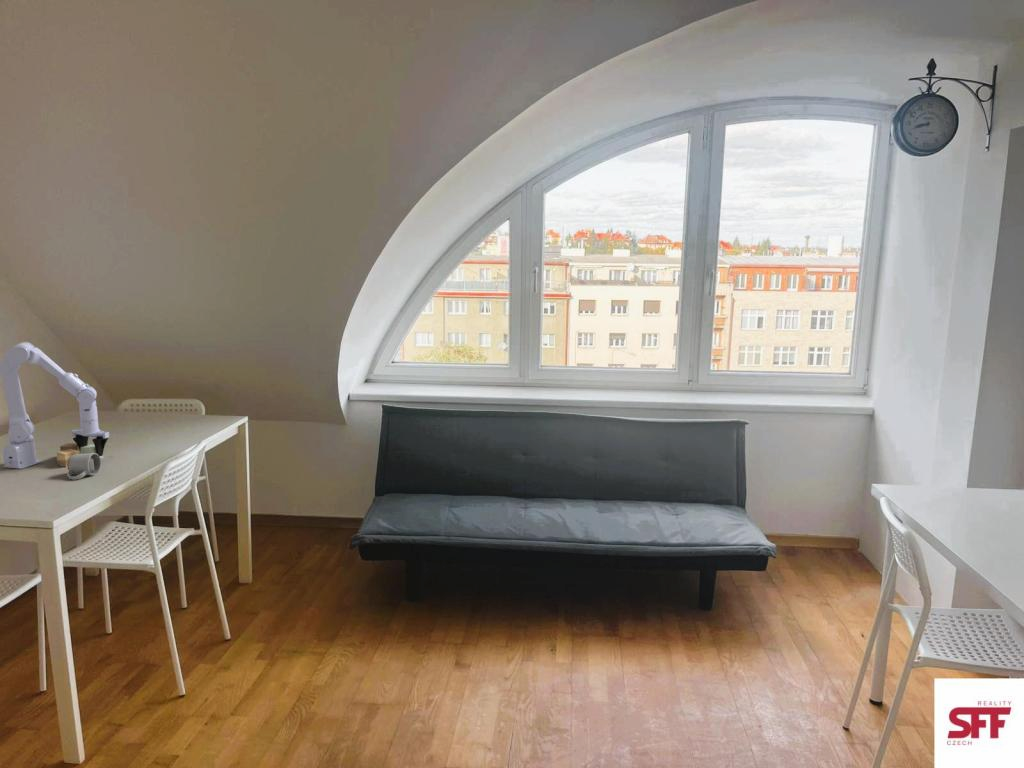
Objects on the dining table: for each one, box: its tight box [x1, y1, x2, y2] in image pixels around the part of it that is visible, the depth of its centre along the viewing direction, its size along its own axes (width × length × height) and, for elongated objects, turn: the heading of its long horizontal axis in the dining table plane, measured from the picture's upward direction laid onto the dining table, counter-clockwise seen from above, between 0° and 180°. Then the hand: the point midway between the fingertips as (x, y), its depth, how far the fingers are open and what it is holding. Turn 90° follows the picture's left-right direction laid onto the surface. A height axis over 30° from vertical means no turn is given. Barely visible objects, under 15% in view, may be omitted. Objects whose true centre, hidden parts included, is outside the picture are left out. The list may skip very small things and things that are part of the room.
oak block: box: [56, 449, 79, 468], centre depth 270 cm, size 5×5×5 cm
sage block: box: [81, 443, 104, 459], centre depth 277 cm, size 5×5×5 cm
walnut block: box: [59, 442, 81, 454], centre depth 279 cm, size 5×5×5 cm
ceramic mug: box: [66, 453, 102, 481], centre depth 257 cm, size 11×8×8 cm
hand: (92, 455), depth 278 cm, fingers open, 6 cm apart
